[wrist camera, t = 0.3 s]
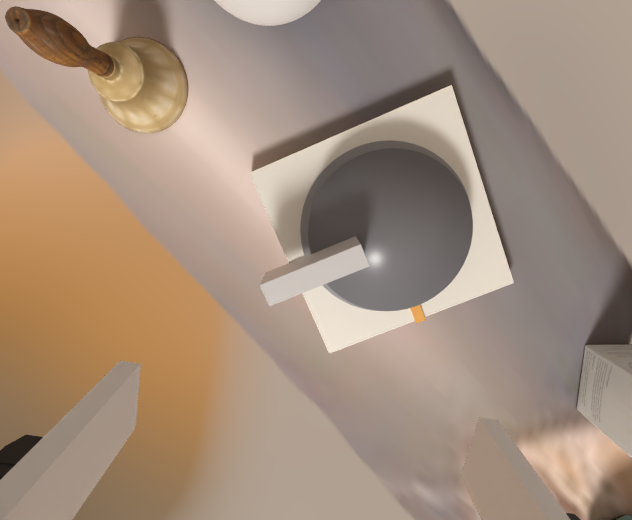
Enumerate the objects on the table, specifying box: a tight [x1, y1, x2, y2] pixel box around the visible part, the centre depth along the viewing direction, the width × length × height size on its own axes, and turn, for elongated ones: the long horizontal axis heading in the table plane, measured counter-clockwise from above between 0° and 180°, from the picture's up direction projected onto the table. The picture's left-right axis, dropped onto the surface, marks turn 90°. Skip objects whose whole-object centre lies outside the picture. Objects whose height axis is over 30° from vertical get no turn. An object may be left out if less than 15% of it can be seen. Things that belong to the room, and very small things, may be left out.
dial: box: [260, 148, 473, 311], centre depth 34 cm, size 20×15×6 cm
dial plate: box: [249, 85, 514, 353], centre depth 38 cm, size 20×20×2 cm
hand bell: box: [5, 7, 188, 133], centre depth 28 cm, size 8×8×16 cm
